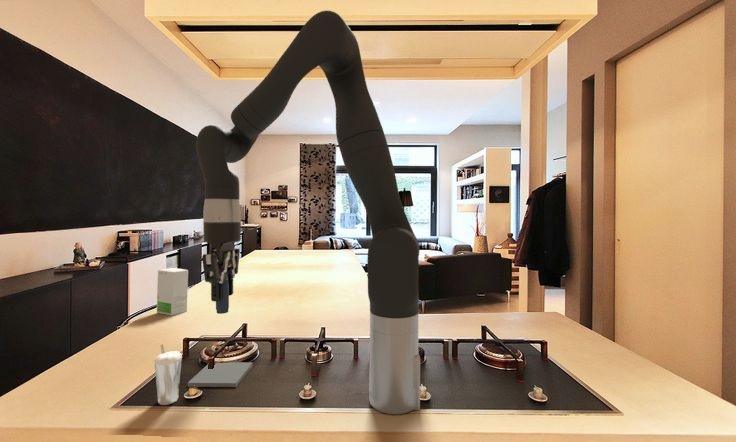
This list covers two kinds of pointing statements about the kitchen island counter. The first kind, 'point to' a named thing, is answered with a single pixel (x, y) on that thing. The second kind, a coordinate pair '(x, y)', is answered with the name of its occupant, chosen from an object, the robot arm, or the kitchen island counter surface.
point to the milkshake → (167, 376)
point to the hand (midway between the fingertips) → (222, 297)
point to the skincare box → (172, 291)
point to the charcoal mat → (221, 375)
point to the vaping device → (224, 296)
